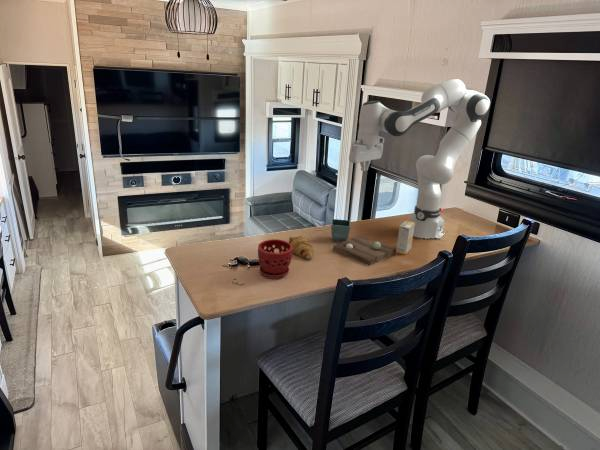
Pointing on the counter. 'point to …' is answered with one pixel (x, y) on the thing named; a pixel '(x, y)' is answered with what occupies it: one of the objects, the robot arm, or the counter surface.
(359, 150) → the robot arm
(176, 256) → the counter surface
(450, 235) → the counter surface
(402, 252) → the supplement box
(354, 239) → the board
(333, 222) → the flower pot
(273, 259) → the plant pot
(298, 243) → the croissant
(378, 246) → the sage ball
